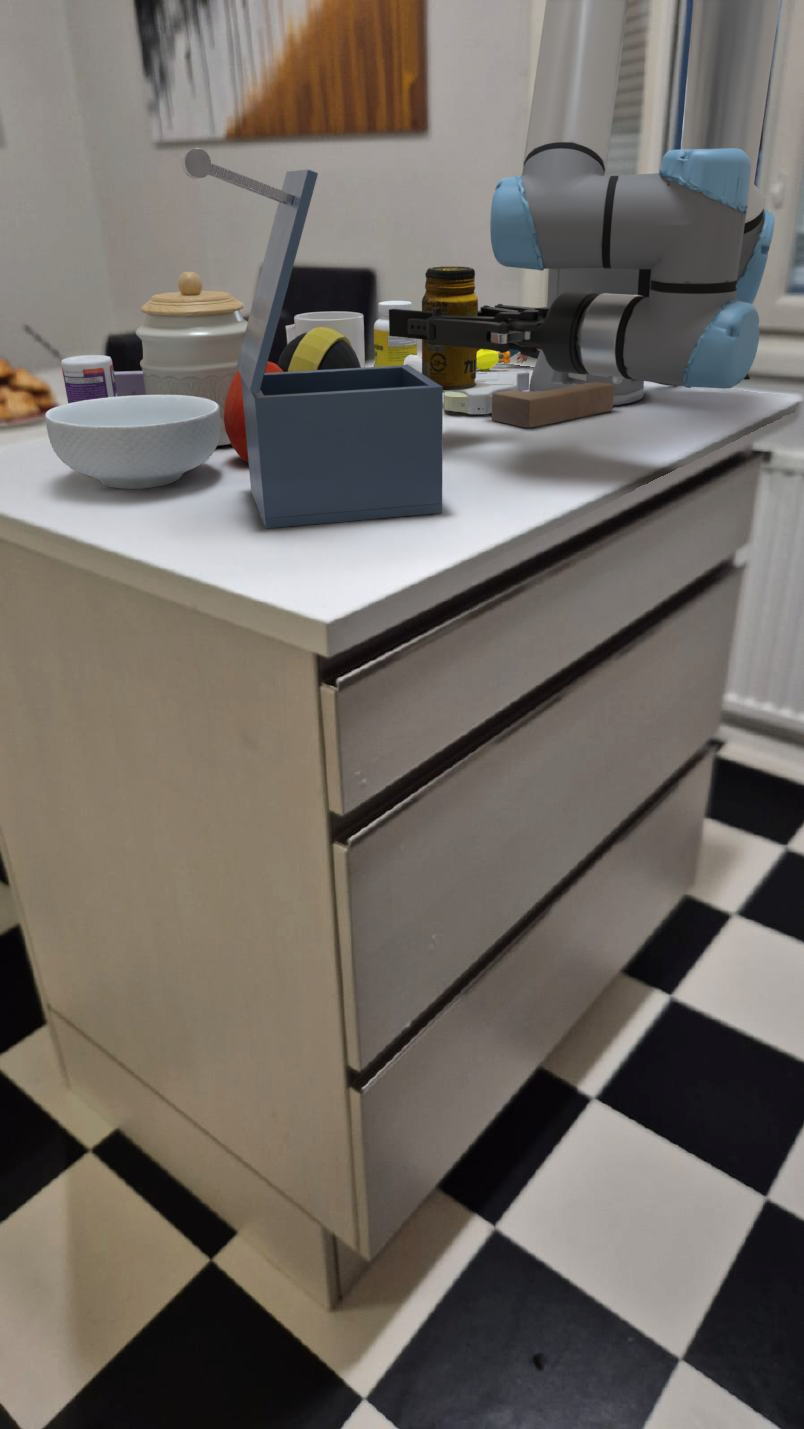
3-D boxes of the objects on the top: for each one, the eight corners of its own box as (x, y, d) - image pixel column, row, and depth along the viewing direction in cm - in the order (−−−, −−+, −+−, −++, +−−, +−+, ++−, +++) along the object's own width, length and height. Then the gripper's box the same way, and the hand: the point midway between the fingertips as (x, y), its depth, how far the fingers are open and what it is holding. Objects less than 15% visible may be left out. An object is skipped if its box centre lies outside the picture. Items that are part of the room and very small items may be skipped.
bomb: (260, 423, 123) (366, 468, 119) (255, 346, 113) (370, 392, 110) (306, 374, 128) (409, 415, 125) (305, 297, 119) (415, 339, 116)
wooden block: (528, 428, 117) (613, 411, 125) (529, 399, 116) (615, 384, 124) (490, 420, 122) (574, 404, 130) (491, 393, 120) (576, 378, 128)
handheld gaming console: (530, 416, 123) (528, 391, 136) (530, 392, 122) (529, 370, 135) (440, 417, 124) (448, 392, 138) (440, 394, 123) (447, 371, 136)
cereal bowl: (253, 484, 98) (246, 411, 94) (85, 513, 90) (72, 434, 87) (189, 451, 110) (181, 385, 107) (38, 473, 103) (24, 403, 99)
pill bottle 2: (373, 380, 147) (371, 300, 142) (414, 379, 148) (413, 299, 143) (377, 388, 142) (374, 305, 137) (419, 386, 143) (419, 304, 137)
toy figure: (517, 350, 148) (442, 363, 146) (517, 374, 150) (443, 387, 148) (499, 339, 154) (426, 352, 151) (499, 363, 156) (427, 375, 153)
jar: (207, 419, 124) (190, 265, 116) (285, 431, 117) (273, 269, 109) (126, 440, 115) (102, 274, 106) (206, 454, 108) (186, 278, 100)
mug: (379, 403, 132) (377, 314, 127) (334, 414, 126) (329, 321, 121) (316, 393, 139) (311, 308, 134) (269, 403, 133) (262, 315, 128)
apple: (311, 466, 104) (305, 358, 99) (233, 473, 102) (222, 363, 97) (296, 448, 111) (290, 347, 106) (222, 454, 109) (212, 351, 104)
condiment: (492, 386, 109) (496, 267, 104) (431, 396, 105) (431, 272, 99) (451, 377, 114) (452, 264, 109) (391, 386, 110) (389, 268, 104)
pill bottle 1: (49, 360, 107) (65, 450, 111) (87, 363, 105) (101, 455, 109) (85, 353, 111) (99, 441, 116) (122, 355, 109) (134, 445, 113)
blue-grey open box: (410, 479, 98) (408, 364, 93) (442, 513, 88) (442, 386, 83) (251, 492, 95) (240, 374, 90) (265, 528, 85) (254, 398, 80)
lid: (295, 174, 84) (186, 131, 80) (318, 173, 74) (194, 123, 70) (244, 370, 90) (141, 337, 87) (259, 394, 80) (142, 358, 77)
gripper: (540, 390, 92) (355, 366, 105) (636, 361, 105) (460, 343, 118) (544, 304, 89) (352, 290, 102) (643, 284, 102) (461, 274, 114)
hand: (410, 318), depth 110 cm, fingers closed on condiment, 6 cm apart
